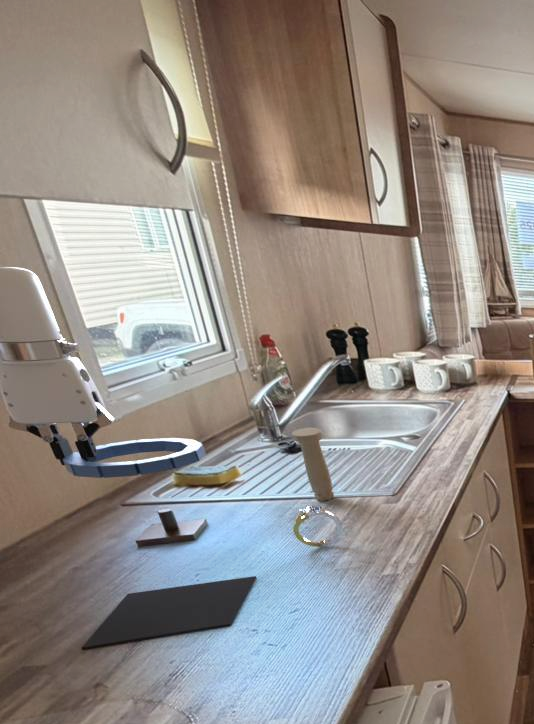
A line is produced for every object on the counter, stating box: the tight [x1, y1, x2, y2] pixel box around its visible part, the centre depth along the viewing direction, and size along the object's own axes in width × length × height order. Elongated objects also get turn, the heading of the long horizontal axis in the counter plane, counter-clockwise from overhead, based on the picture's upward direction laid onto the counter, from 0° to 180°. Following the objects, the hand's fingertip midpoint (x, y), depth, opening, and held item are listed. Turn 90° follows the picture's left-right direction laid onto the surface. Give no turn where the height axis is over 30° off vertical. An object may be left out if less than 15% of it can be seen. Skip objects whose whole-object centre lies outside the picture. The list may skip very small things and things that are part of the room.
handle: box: [291, 427, 335, 502], centre depth 135 cm, size 5×6×15 cm
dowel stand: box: [135, 507, 209, 547], centre depth 118 cm, size 8×8×5 cm
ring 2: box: [292, 504, 343, 548], centre depth 116 cm, size 7×3×8 cm, turn 119°
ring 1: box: [63, 437, 207, 479], centre depth 111 cm, size 17×17×2 cm
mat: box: [81, 575, 257, 651], centre depth 97 cm, size 16×16×1 cm
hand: (79, 461), depth 108 cm, fingers closed on ring 1, 2 cm apart
